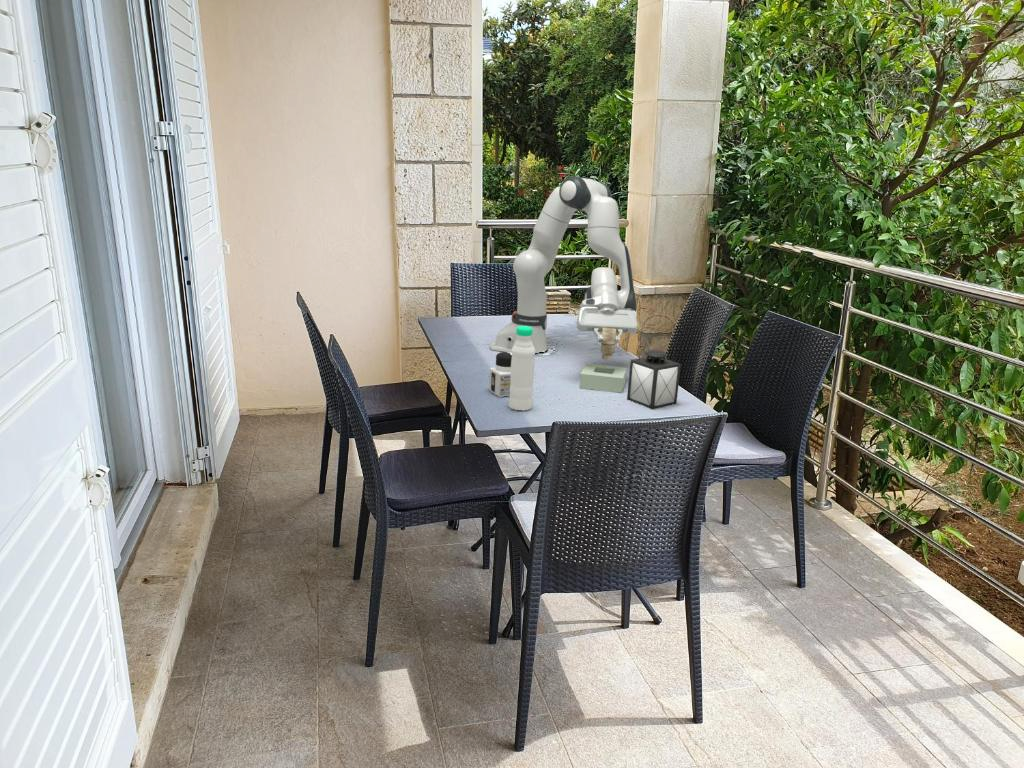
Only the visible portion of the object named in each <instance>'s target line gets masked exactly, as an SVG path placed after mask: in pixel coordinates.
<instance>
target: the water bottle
mask: <svg viewBox="0 0 1024 768" xmlns="http://www.w3.org/2000/svg"><path fill="white" fill-rule="evenodd" d="M532 333H533V329H532V328H531V327H528V326H519V327H517V330H516V334H517V336H518V339H517V340H516V342H515V345H514V346H513V348H512V359H511V376H510V379H511V385H510V396H509V400H508V406H509V409H511V410H513V409H515V410H514V411H516V410H527V411H529V410H528V409H530V410H532V408H533V395H534V386H533V385H534V379H535V355H536V354H535V349H534V346H533V343H532V341H531V336H532Z"/></svg>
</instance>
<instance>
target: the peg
mask: <svg viewBox="0 0 1024 768" xmlns="http://www.w3.org/2000/svg"><path fill="white" fill-rule="evenodd" d="M601 333H602V334H601V335H602V342H600V353H601V359H602V360H612V359H613V354H615V347H616V343H615V337H616V336H617V333H616V329H615V328H606V327H605V328H603V331H602V332H601Z"/></svg>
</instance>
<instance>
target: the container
mask: <svg viewBox="0 0 1024 768" xmlns="http://www.w3.org/2000/svg"><path fill="white" fill-rule="evenodd" d="M511 359H512V353H510V352H503V351H500V352H499V353H497V354H496V355H495V366H494V367H490V368H489V381H488V382H489V385H488V391H489V392H491V394H493V395H495V396H497V397H498V398H504V397H503V396H507V397H510V385H511V379H510V376H511Z"/></svg>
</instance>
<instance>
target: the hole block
mask: <svg viewBox="0 0 1024 768" xmlns="http://www.w3.org/2000/svg"><path fill="white" fill-rule="evenodd" d="M627 372H628V367H627V366H626V367H625V366H617V365H608V364H607V365H606V364H600V363H587V362H586V363H585V365H584V367H583V369H582V370H581V372H580V374H579V389H581V388H582V390H583V389H584V390H591V389H593V390H592V391H600V390H602V391H603V392H609V391H610V393H618V392H621V393H620V394H622V393H623V391H624V388H625V385H626V381H627V374H628V373H627Z"/></svg>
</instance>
